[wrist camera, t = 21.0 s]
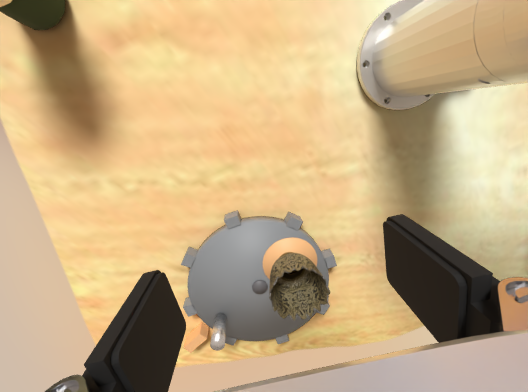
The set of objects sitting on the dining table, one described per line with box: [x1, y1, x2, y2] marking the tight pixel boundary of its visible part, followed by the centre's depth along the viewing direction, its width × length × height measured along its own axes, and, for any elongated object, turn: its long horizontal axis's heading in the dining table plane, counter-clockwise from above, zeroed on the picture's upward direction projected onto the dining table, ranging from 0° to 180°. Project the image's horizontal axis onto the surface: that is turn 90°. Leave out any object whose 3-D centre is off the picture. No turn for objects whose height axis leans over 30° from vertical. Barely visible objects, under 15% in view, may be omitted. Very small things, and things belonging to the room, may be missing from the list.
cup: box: [269, 252, 330, 321], centre depth 34 cm, size 8×7×8 cm
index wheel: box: [181, 210, 337, 350], centre depth 37 cm, size 24×24×7 cm
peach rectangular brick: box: [184, 323, 209, 353], centre depth 42 cm, size 4×2×2 cm, turn 134°
